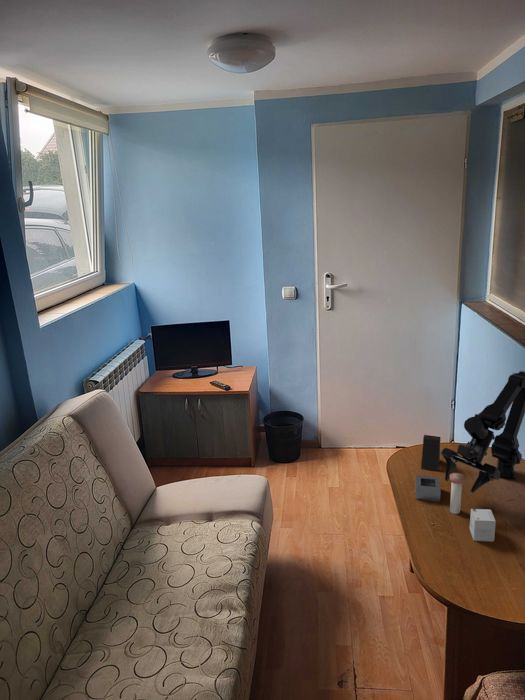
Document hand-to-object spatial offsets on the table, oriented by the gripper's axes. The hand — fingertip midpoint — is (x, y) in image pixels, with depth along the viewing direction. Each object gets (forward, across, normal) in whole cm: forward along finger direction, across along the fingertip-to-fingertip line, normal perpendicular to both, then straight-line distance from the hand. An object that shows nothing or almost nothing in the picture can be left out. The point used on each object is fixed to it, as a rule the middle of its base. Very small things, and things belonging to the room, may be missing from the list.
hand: (458, 486), depth 169 cm
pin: (+7, 0, +5) cm, 9 cm away
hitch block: (+6, -12, +7) cm, 15 cm away
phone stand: (-7, -22, +19) cm, 30 cm away
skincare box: (+11, +12, +2) cm, 16 cm away
